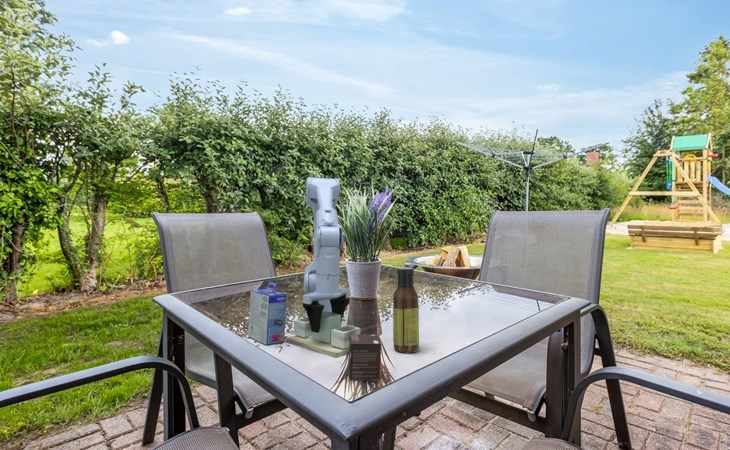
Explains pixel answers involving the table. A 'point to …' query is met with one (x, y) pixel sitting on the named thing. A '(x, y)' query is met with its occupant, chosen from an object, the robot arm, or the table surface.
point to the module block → (327, 326)
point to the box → (364, 357)
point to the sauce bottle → (405, 313)
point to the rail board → (333, 349)
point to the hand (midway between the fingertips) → (326, 328)
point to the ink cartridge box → (267, 315)
